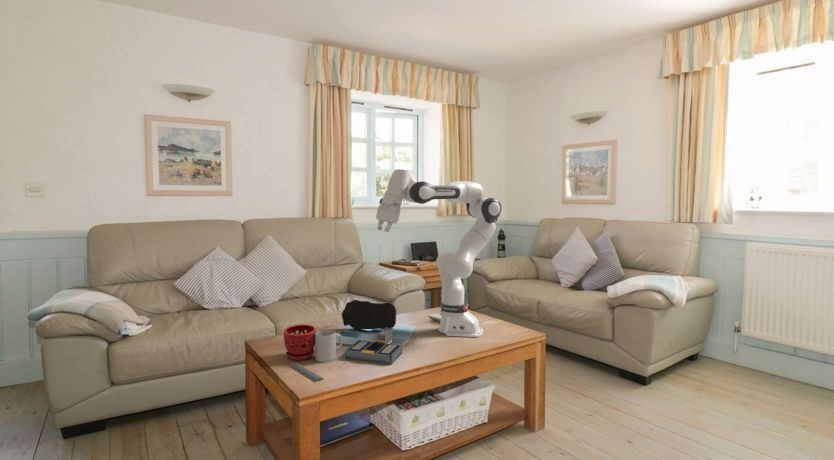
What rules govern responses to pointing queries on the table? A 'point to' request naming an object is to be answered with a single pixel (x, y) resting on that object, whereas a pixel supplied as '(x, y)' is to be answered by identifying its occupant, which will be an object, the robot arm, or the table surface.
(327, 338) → the mug
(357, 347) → the rack
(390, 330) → the grey rectangular block
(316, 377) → the half round rod
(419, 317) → the table surface
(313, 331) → the plant pot
